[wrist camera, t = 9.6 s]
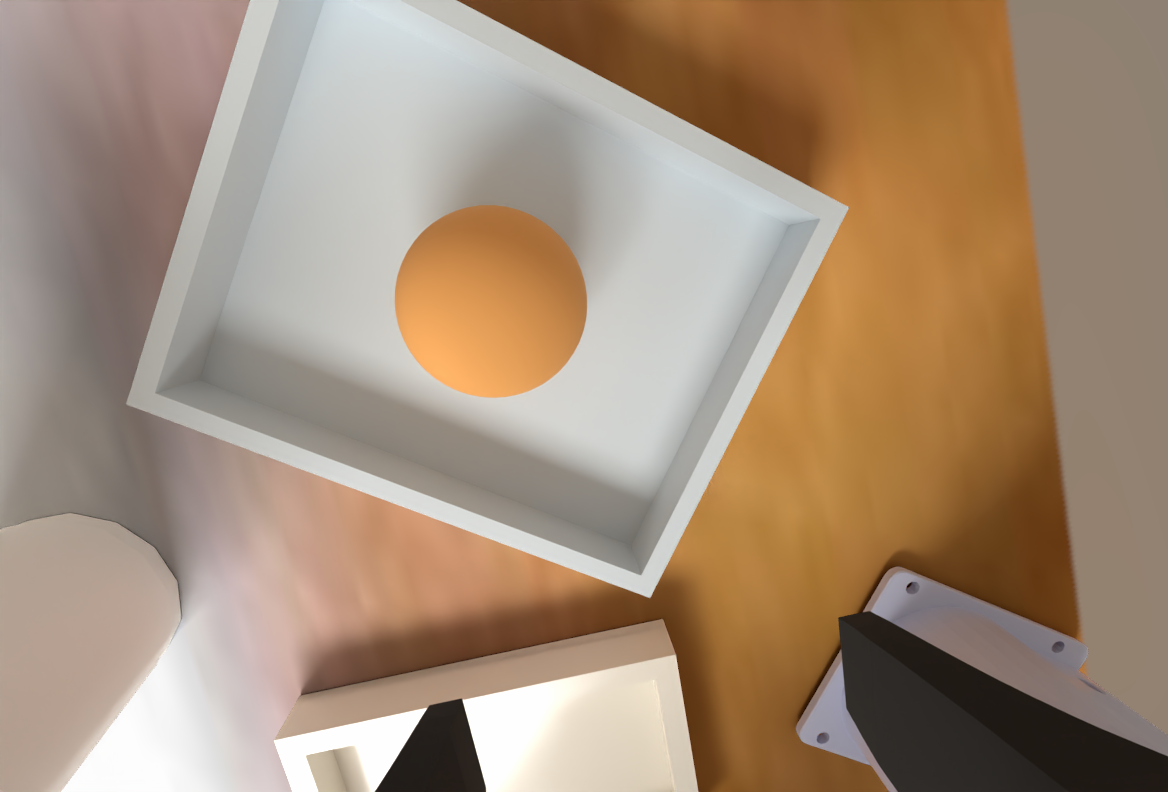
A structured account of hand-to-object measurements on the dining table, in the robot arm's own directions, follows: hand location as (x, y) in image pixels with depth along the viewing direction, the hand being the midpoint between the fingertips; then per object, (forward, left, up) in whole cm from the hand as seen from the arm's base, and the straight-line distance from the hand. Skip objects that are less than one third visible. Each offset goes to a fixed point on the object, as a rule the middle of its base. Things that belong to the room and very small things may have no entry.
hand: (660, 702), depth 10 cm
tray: (+6, -5, -9) cm, 12 cm away
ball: (+6, -5, -6) cm, 10 cm away
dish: (-1, +11, -9) cm, 14 cm away
